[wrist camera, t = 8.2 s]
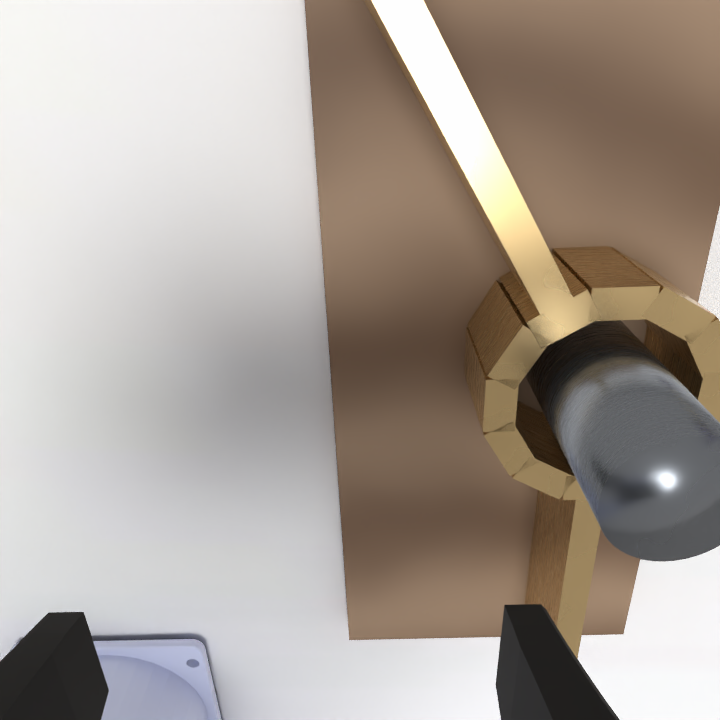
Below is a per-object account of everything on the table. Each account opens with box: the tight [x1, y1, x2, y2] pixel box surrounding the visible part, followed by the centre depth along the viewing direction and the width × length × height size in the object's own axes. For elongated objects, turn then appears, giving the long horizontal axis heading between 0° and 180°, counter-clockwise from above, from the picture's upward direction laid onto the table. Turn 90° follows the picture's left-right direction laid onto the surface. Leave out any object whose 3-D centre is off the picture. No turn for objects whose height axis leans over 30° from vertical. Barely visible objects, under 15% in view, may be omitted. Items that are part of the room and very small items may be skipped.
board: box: [305, 0, 720, 640], centre depth 18 cm, size 23×10×1 cm, turn 2°
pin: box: [525, 320, 720, 561], centre depth 14 cm, size 3×3×7 cm
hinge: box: [364, 0, 720, 658], centre depth 17 cm, size 21×9×3 cm, turn 2°
